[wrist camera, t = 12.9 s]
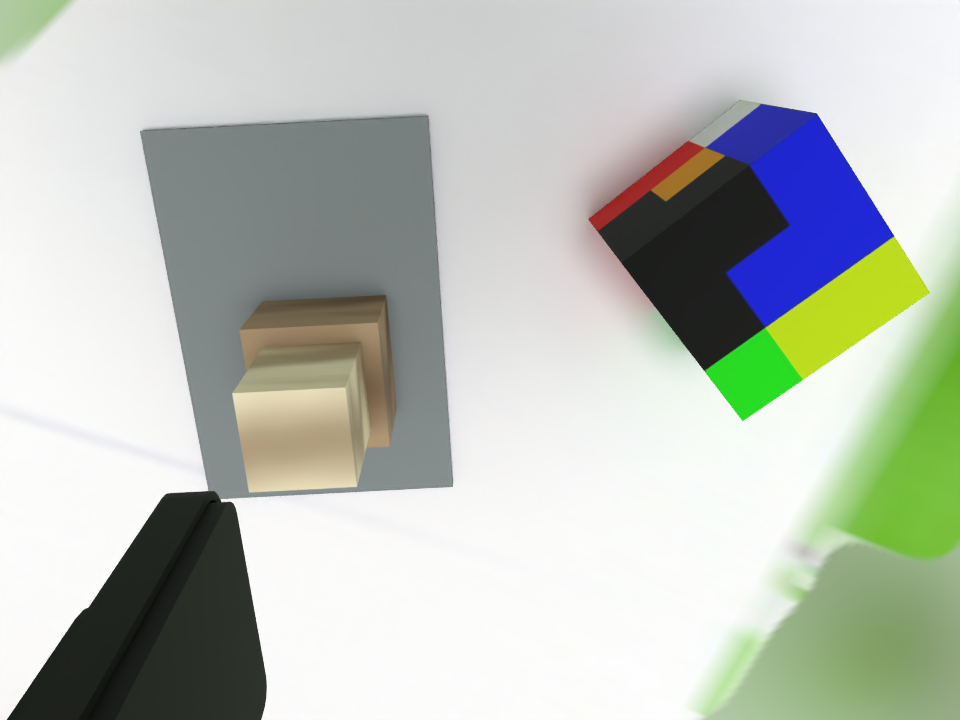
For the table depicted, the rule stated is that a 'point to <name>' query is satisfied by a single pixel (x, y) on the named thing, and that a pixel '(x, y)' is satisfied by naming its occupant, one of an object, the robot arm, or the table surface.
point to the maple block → (303, 417)
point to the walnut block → (334, 325)
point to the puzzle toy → (760, 251)
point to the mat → (304, 268)
